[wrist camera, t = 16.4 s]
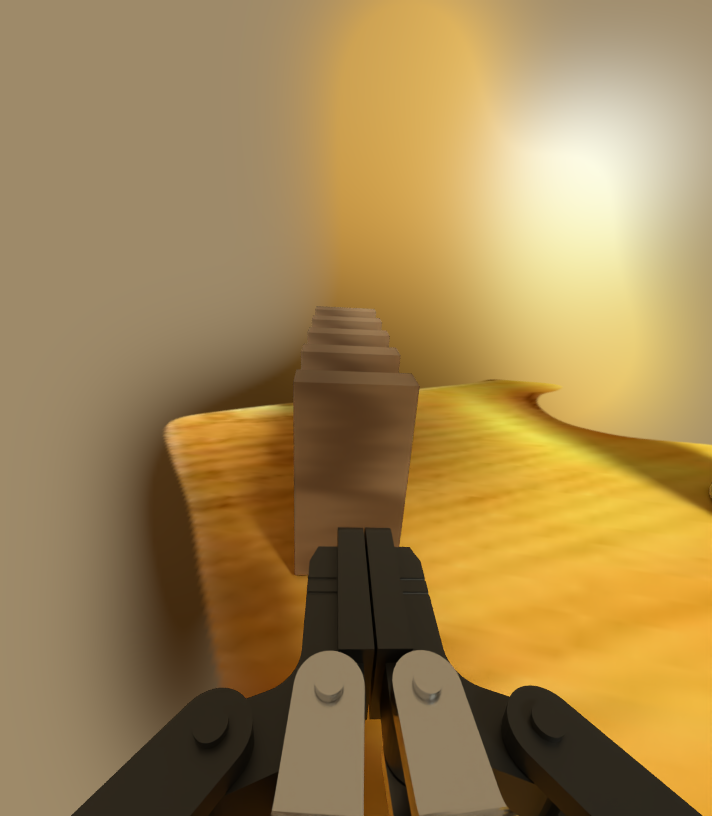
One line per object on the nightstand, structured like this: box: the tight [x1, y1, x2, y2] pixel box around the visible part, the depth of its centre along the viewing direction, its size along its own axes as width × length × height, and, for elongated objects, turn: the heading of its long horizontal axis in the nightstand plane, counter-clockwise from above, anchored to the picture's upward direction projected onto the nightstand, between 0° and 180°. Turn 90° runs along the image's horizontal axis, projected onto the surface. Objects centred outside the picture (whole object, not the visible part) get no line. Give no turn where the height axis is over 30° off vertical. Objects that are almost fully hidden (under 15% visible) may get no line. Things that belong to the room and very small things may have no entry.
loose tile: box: [293, 370, 419, 575], centre depth 18 cm, size 5×2×10 cm, turn 93°
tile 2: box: [301, 344, 400, 373], centre depth 22 cm, size 5×2×10 cm, turn 93°
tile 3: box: [308, 327, 390, 347], centre depth 26 cm, size 5×2×10 cm, turn 93°
